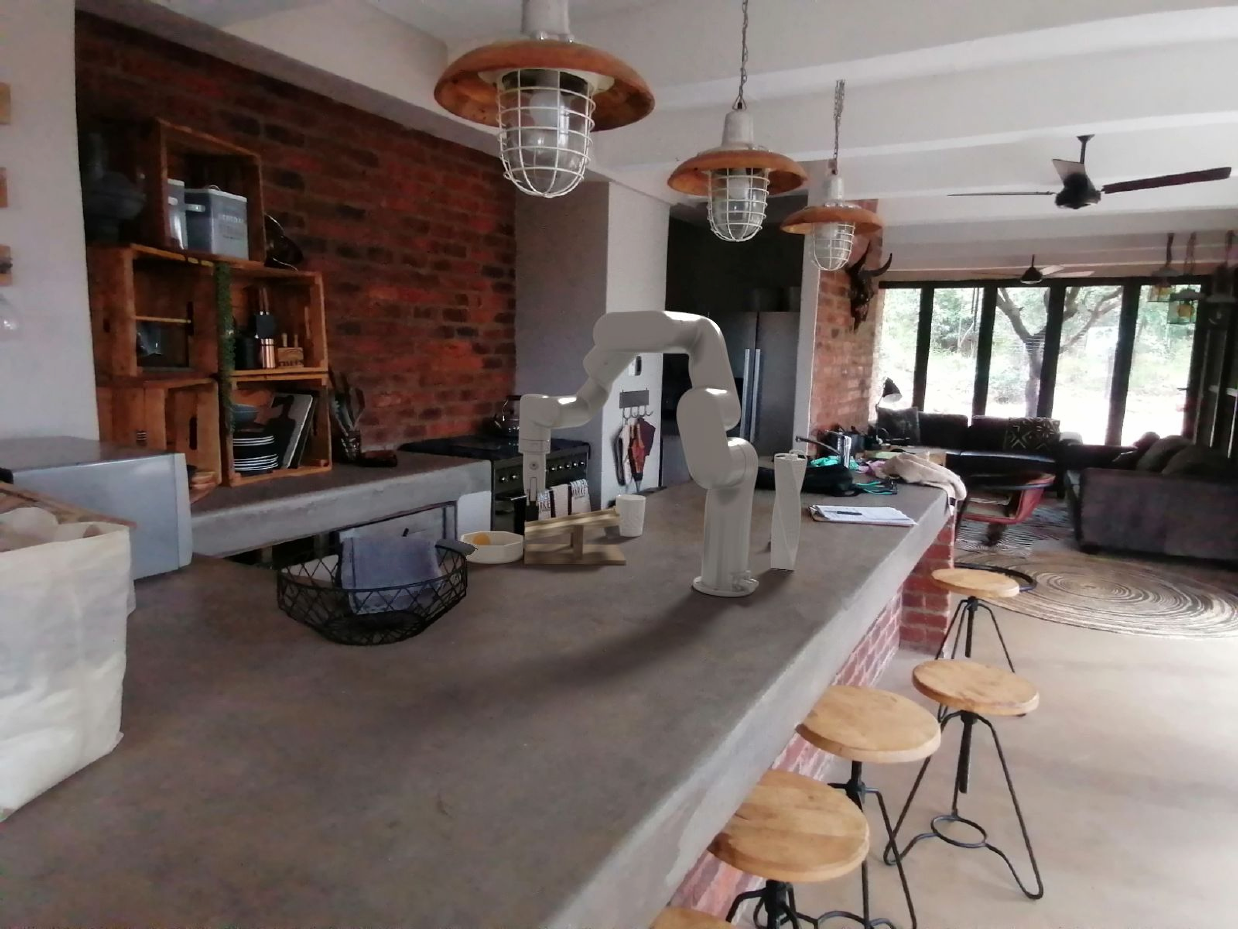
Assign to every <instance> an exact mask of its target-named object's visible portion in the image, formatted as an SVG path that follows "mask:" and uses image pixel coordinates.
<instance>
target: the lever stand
mask: <svg viewBox="0 0 1238 929" xmlns="http://www.w3.org/2000/svg"><path fill="white" fill-rule="evenodd" d="M576 514H581V513H580V512H578V511H577V512H575V511H574V512H573V511H572V512H570V515H576ZM569 534H570V535H569V536H570V537H569V543H568V544H565V543H564V544H563V543H557V544H556V543H524V544H523V557H524V560H523V561H524V564H525V565H527V564H528V565H538V564H539V565H623V566H625V565H627V559H626V557H625V555H624V552H623V551H622V548H621V545H620V544H584V531H583V524H580V523H574V532H573V533H569Z"/></svg>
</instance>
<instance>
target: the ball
mask: <svg viewBox="0 0 1238 929" xmlns="http://www.w3.org/2000/svg"><path fill="white" fill-rule="evenodd" d="M473 544H476V545H490V539H489V537H488V536H487V535H485V534H478V535H476V536H475V537H474V539H473Z"/></svg>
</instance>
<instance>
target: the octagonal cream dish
mask: <svg viewBox="0 0 1238 929" xmlns="http://www.w3.org/2000/svg"><path fill="white" fill-rule="evenodd" d="M478 534H485V535H487V536H488V537H489V539H490V545H476V544H473V539H474V537H475V536H476V535H478ZM460 541H461V542H464V543H467V544H471V545H473V546H474V547H475V548H477V549H478V550H477V549H475V551H474V552H473V553H472V554H471V555H467V556H466V559H467V560H466V561H467V562H469V563H471V562H472V563H476V564H487V565H488V564H490V565H491V564H494V565H495V564H497V565H498V564H505V563H512V562H516V561H518V560H521V559H522V558H523V557H524V535H521V534H518V533H513V532H510V531H502V530H501V531H493V530H491V531H490V530H480V531H476V532H475V531H474V532H469V533H466V534H465V533H464V534H462V535H461V536H460V539H459V542H460Z"/></svg>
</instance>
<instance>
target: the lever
mask: <svg viewBox="0 0 1238 929" xmlns="http://www.w3.org/2000/svg"><path fill="white" fill-rule="evenodd" d="M612 507H613V508H609V509H608V508H607V509H602V510H596V511H588V512H583V513H580V514H576V515H571V514H570V515H564V516H559V517H557V516H556V517H551V518H546V519H545V518H544V519H542V517H539V520H538V521H532V522H526V521H525V520H524V531H523V532H524V538H525V541H528V540H529V541H530V540H537V539H543V538H548V537H553V536H554V537H555V536H560V535H566V534H570V533H573V532H574V523H580V524H583V532H584V531H590V530H597V529H603V530H604V534H605V536H606V538H607V540H609V539H615V538H620V537H622V536H621V535H620V529H619V525H621V519H620V513H619V511H618V510H617V508H616V505H613V506H612Z"/></svg>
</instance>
